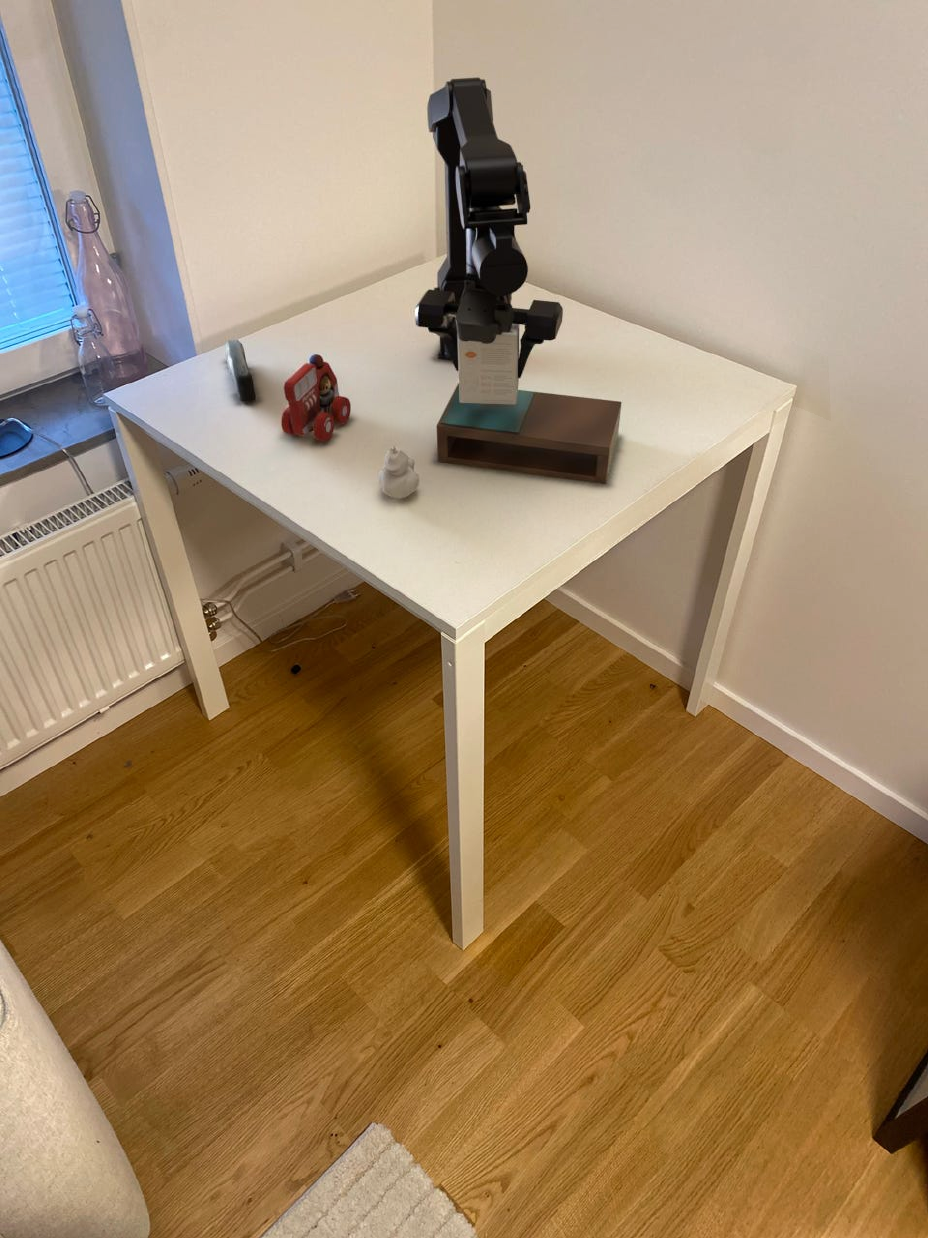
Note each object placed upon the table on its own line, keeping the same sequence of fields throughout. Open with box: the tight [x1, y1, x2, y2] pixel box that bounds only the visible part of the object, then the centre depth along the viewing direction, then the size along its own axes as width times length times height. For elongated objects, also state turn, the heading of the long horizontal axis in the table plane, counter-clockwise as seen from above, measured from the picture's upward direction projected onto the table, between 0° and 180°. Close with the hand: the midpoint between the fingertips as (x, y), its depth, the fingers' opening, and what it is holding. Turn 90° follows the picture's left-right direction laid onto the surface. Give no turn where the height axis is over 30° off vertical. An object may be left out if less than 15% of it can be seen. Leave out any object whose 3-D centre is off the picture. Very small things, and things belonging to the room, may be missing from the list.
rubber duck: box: [378, 445, 420, 499], centre depth 125 cm, size 5×7×8 cm
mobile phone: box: [225, 338, 257, 403], centre depth 149 cm, size 5×3×15 cm
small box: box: [458, 324, 520, 405], centre depth 127 cm, size 8×6×10 cm
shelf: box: [435, 382, 623, 485], centre depth 133 cm, size 24×12×6 cm, turn 75°
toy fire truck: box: [280, 353, 352, 443], centre depth 137 cm, size 7×12×10 cm, turn 157°
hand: (488, 373), depth 128 cm, fingers closed on small box, 8 cm apart
